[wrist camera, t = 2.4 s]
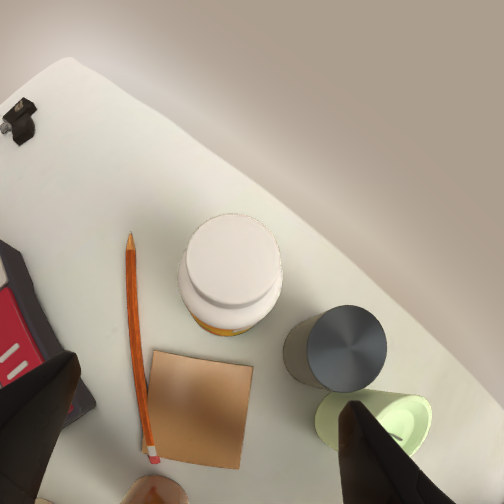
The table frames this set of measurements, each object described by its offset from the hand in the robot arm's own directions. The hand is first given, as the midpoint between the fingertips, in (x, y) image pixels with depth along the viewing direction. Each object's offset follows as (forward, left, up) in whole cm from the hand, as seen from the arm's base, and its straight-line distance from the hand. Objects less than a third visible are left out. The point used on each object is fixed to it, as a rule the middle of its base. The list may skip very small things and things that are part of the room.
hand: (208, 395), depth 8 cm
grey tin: (+2, -7, -12) cm, 14 cm away
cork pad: (-3, +1, -12) cm, 12 cm away
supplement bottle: (+5, 0, -12) cm, 13 cm away
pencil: (+1, +6, -12) cm, 13 cm away
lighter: (+24, +27, -11) cm, 37 cm away
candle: (-3, -10, -12) cm, 16 cm away
